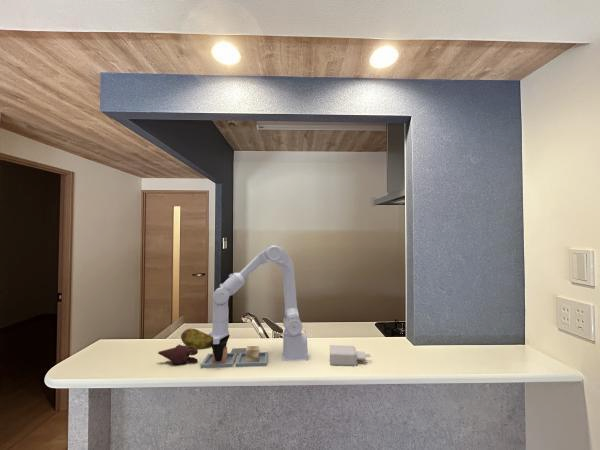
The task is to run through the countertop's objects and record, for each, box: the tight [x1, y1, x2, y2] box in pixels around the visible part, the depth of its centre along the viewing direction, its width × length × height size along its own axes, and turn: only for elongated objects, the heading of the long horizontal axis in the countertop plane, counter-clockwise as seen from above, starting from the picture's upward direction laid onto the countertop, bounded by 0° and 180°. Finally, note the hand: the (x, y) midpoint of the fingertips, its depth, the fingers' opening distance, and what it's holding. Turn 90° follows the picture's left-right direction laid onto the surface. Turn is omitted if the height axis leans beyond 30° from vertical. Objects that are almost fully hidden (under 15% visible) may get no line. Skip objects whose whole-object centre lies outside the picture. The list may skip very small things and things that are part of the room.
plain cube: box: [246, 345, 260, 362], centre depth 106 cm, size 4×4×4 cm
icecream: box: [157, 344, 199, 366], centre depth 105 cm, size 7×7×15 cm
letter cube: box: [211, 346, 228, 363], centre depth 105 cm, size 4×5×5 cm
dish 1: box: [200, 352, 238, 369], centre depth 105 cm, size 11×11×2 cm
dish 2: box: [234, 351, 269, 368], centre depth 106 cm, size 11×11×2 cm
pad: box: [230, 347, 247, 356], centre depth 116 cm, size 7×7×1 cm
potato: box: [180, 328, 213, 350], centre depth 122 cm, size 8×13×8 cm, turn 83°
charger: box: [329, 344, 372, 367], centre depth 106 cm, size 5×9×15 cm
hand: (219, 358), depth 105 cm, fingers closed on letter cube, 4 cm apart
